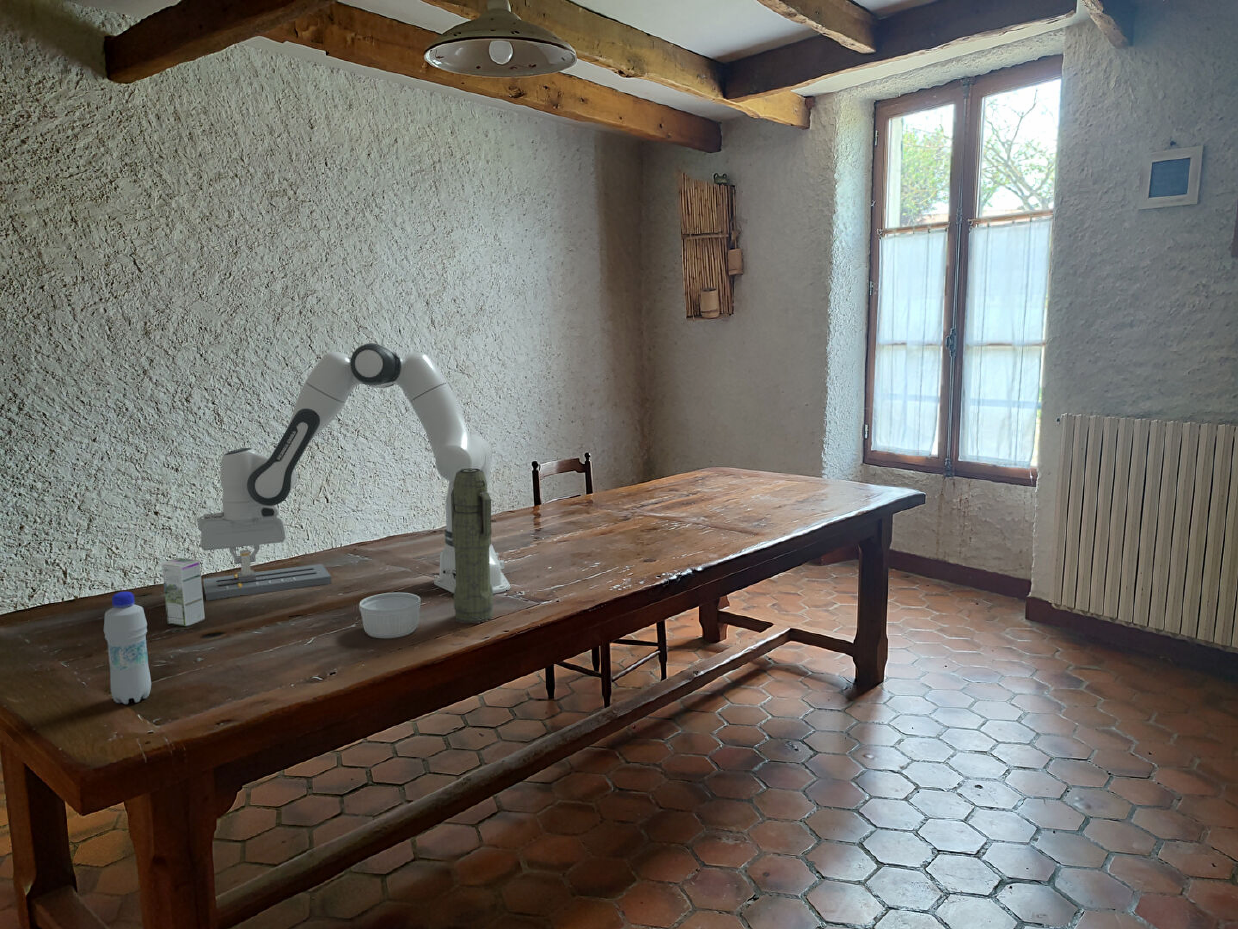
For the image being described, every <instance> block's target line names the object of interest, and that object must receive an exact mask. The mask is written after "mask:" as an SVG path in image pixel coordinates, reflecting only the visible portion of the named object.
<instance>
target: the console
mask: <svg viewBox="0 0 1238 929" xmlns="http://www.w3.org/2000/svg"><path fill="white" fill-rule="evenodd" d="M254 572H255V575H256V580H255V581H247V582H240V583H239V581H238V578H237V573H236V574H232V575H231V574H230V575H223V576H222V575H221V576H215V577H206V578H202V582H203V583H202V585H203V586H202V587H203V590H204V594H205V595H206V596H205V595H204V596H205V599H206V601H213V600H221V598H222V599H228V598H227V597H229V598H236V597H241V596H240V595H244V596H251V595H257V594H258V595H259V594H265V593H271V592H278V591H279V592H280V591H287V590H292V589H293V590H294V589H300V588H308V587H315V586H322V585H331V584H332V575H331V574H330V573H329V571H328V570H327V569H326V568H325V566H324V565H323V563H318V564H311V565H310V564H309V565H304V566H294V567H287V568H278V569H271V570H262V571H254ZM235 596H236V597H235Z"/></svg>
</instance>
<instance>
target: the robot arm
mask: <svg viewBox="0 0 1238 929" xmlns="http://www.w3.org/2000/svg"><path fill="white" fill-rule="evenodd" d="M359 385H365V386H366V385H367V386H369V387H372V388H376V389H378V388H379V389H380V388H381V389H384V388H389V387H392V386H394V385H397V386H398V387H399V388H400V389H401V390H402V391H403V392H404V394H405V396H406V398H407V400H408V402H409V403H410V405H411V407H412V409H413V411H414V413H415V414H416V415H417V417H418V418H417V419H418V420H419V422H420V424H421V425H422V427H423V429H424V431H425V433H426V436H427V439H428V442H429V445H430V447H431V451H432V453H433V455H434V456H433V457H434V458H435V467H436V469H437V472H438V474H439V475H440V476H441V477H442V478H443V479H444V480H447V481H448V488H447V495H446V497H445V502H444V503H445V529H444V543H445V545H444V548H443V549H442V551H441V552H440V553H439V577H438V578H436V579H434V581H433V584H434V585H435V586H437V587H439V588H441V589H444V590H446V591H447V592H450V593H452V594H454V590H455V587H456V572H455V549H454V547H453V543H452V510H451V493H452V491H453V489H454V488H453V483H454V479H455V476H456V473H457V472H458V471H460V470H461V469H469V468H474V469H480V470H481V471H483V472H484V475H485V478H486V481H487V493H489V488H490V480H491V478H490V477H491V466H492V464H491V463H492V456H493V451H492V450H493V449H492V445H491V443H490V442H489V441H488V439H486V438H484V437H483V436H480V435H478V434H474V433H470V431H469V429H468V426H467V424H466V420H465V417H464V413H463V408H462V407H461V405H460V403H459V400H458V399H457V397H456V396H455V394H454V392H453V389H452V388H451V387H450V384H449V383H448V381H447V380H446V378H445V376H444V375H443V373H442V371H441V370H440V369H439V367H438V366H437V365H436V364H435V363H434V361H433V360H432V359H431V357H430V356H429V355H428V354H426V353H423V352H412V353H410V354H407V355H405V356H399V355H398V354H397V353H396V352H394V351H393V350H392V349H390V348H389V347H388V346H385V345H382V344H378V343H373V342H372V343H371V342H370V343H365V344H362V345H360V346H358V347H357V348H356V349H355V350H354V351H353V352H352V355H351V356H350V355H348V354H346V353H345V352H341V351H329V352H327V353H326V354H325V355H324V356H323V357H322V358H321V359H320V360H319V361H318V363H317V364H316V365H315V367H313V369H312V371H311V372H310V374H308V376H307V379H306V380H305V382H304V383H303V385H302V387H301V390H300V392H299V393H298V396H297V398H296V402H295V403H294V408H293V411H292V414H291V417H290V420H289V422H288V425H287V427H286V430H285V431H284V433H283V435H282V436H281V438H280V440H279V442H278V443H277V445H276V446H275V448H274V450H273V452H272V454H271V455H270V456H267V455H265V454H262V453H261V452H259V451H257V450H255V449H254V448H251V447H242V448H236V449H233V450H230V451H228V452H226V453H225V454H223V455H222V457H221V460H220V469H219V470H220V485H221V488H222V493H223V494H222V498H221V501H222V502H221V504H222V511H221V512H215V513H205V514H203V515H201V516H200V517H199V518H198V519H197V530H199V532H200V548H201V549H202V550H203V551H206V552H207V551H214V550H223V549H228V550H229V552H230V554H231V555H232V557H233V558H234V564H235V565H239V564H240V565H241V556H240V555H237V554H236V551H237V550H236V548H241V547H250V546H252V547H253V552H252V553H250V563H256V562H257V561H256V556H257V554H258V552H259V551H260V545H261V546H262V545H269V544H278V543H283V542H285V540H286V536H287V535H286V529H285V524H284V521H283V519H282V518H281V516H280V515H279V514H280V510H279V507H278V505H279V504H282V503H283V502H284V501H286V499H288V496H289V494H290V493H291V492H292V490H293V489H294V487H295V486H296V484H297V481H298V472H297V470H296V467H297V465H298V463H299V461H300V459H301V458H302V456H303V455H304V452H306V449H307V447H308V446H309V445H310V443H311V442H312V440H314V438H315V437H316V436H317V435H318V434H320V432H322V431H323V430H324V429H325V428H326V427H328V425H330V424H331V422H332V421H333V420H334V419H336V417H337V416H338V414H339V412H341V411H342V409H343V407H344V405H345V404H346V402H347V400H348V398H349V396H350V395H351V393H352V392H353V390H354V389H355V388H356V387H357V386H359ZM489 556H490V584H491V586H492V589H493V595H495V594H499V593H503V592H507V591H509V590H511V584H510V582H509V581H508V579H507V578H506V576H505V575H504V573H503V572H502V569H503V570H504V569H505V561H504V559H499V552H496V551H495V549H494V546H493V545H492V544H491V545H490V547H489ZM506 590H507V591H506Z"/></svg>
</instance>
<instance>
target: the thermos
mask: <svg viewBox="0 0 1238 929" xmlns="http://www.w3.org/2000/svg"><path fill="white" fill-rule="evenodd" d="M453 488H454V489H453V491H452V493H451V510H452V543H453V547H454V549H455V572H456V587H455V590H454V593H453V608H454V611H455V616H454V619H455V621H456V620H457V621H456V622H458V621H459V622H458V623H460V622H463V623H462V624H465V623H477V624H479V623H478V622H483V621H486V620H488V619H491V618H492V619H493V617H492V616H494V615H493V608H494V594H493V589H492V586H491V584H490V556H489V547H490V545H492V534H493V532H492V499H491V496H490V493H489V492H488V493H487V481H486V478H485V475H484V472H483V471H481V470H480V469H474V468H469V469H461V470H460V471H458V472H457V473H456V476H455V479H454V483H453ZM492 619H491V620H492ZM486 622H487V621H486ZM483 623H484V622H483Z"/></svg>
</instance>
